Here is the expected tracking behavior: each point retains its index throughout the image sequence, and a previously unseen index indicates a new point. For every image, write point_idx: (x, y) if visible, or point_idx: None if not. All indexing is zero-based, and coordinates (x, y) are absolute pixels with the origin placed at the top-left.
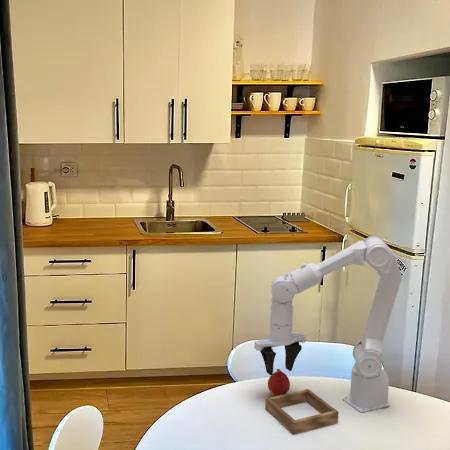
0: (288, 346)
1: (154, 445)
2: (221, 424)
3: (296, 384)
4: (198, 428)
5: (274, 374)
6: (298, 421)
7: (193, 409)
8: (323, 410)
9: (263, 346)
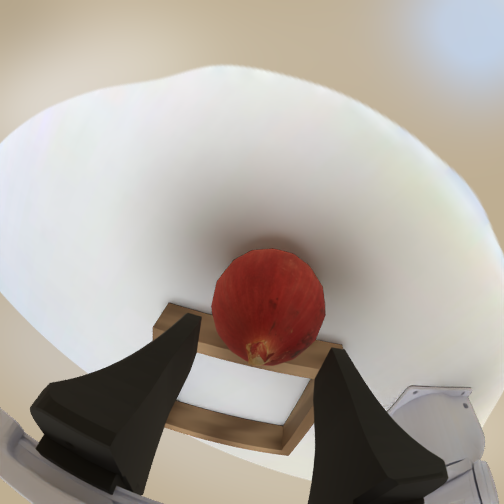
0: (341, 498)
1: None
2: (42, 275)
3: (417, 246)
4: (7, 254)
5: (235, 330)
6: (169, 428)
7: (14, 171)
8: (294, 417)
9: (46, 471)
